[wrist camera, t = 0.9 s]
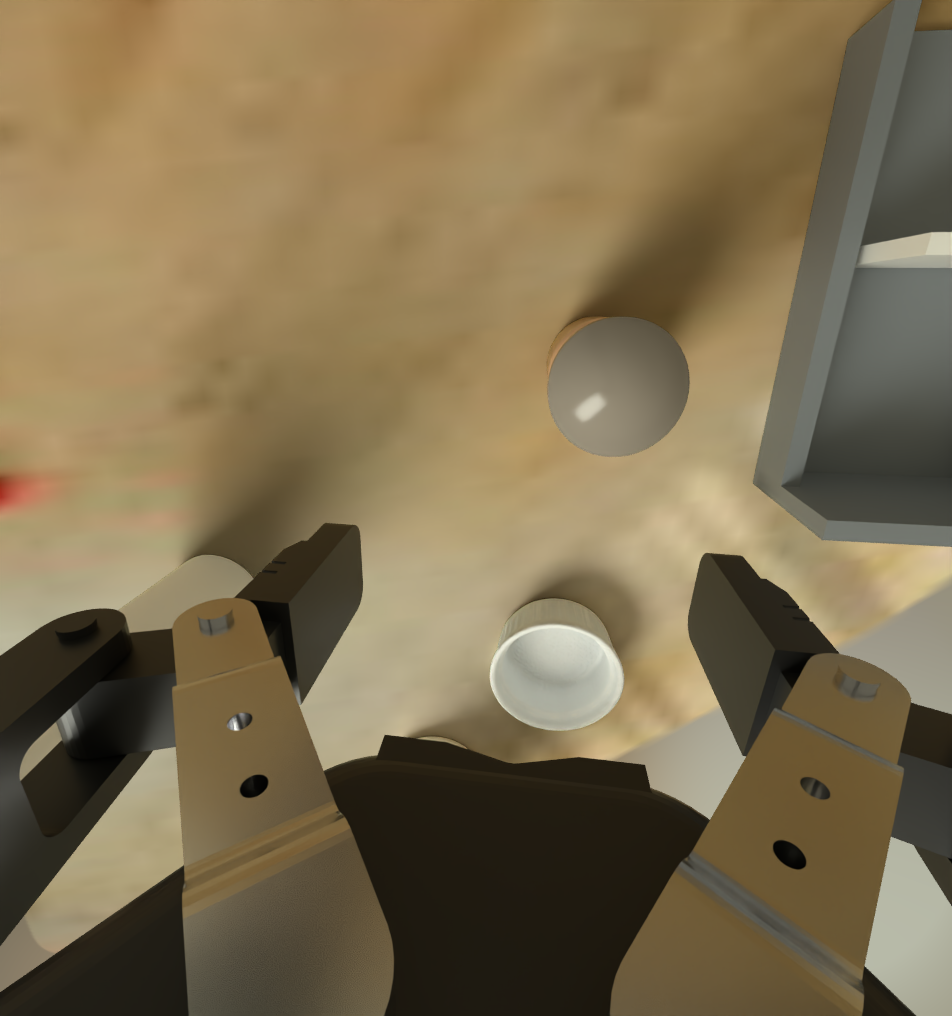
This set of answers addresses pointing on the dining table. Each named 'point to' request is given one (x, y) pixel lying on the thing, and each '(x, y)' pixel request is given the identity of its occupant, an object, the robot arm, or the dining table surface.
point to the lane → (872, 307)
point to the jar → (616, 384)
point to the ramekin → (556, 666)
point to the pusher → (909, 252)
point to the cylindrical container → (163, 615)
